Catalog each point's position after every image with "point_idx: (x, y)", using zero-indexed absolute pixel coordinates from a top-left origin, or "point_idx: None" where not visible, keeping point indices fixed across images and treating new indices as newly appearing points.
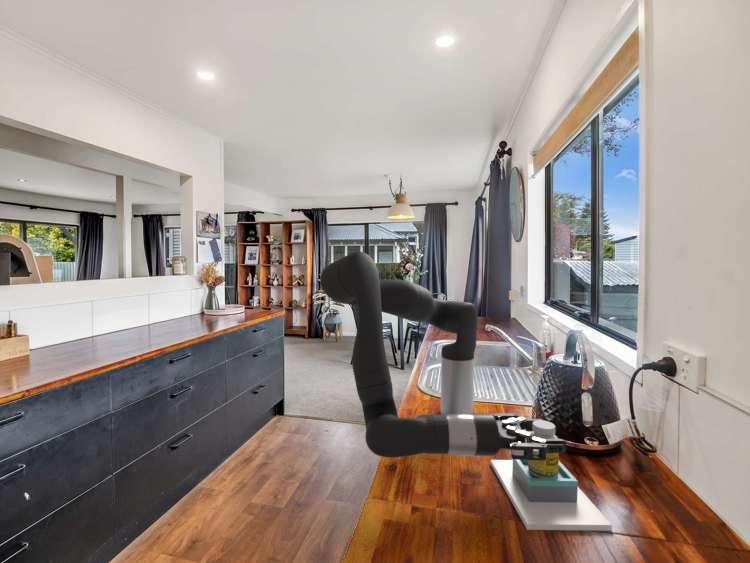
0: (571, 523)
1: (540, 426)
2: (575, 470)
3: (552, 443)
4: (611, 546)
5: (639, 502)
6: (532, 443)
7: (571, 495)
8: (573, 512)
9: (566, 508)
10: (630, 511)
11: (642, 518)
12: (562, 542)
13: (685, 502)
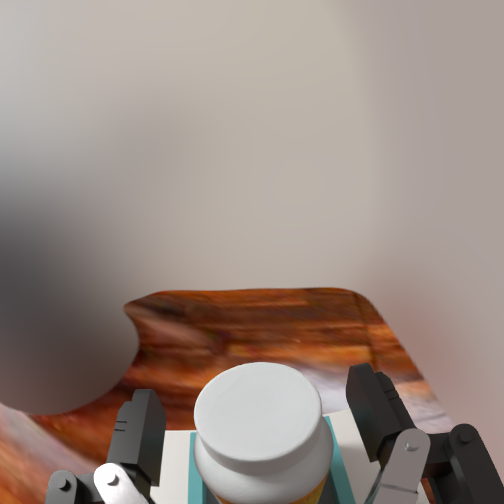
0: None
1: (289, 428)
2: (168, 405)
3: (394, 410)
4: (424, 413)
5: (276, 347)
6: (467, 481)
7: None
8: (367, 457)
9: (356, 468)
10: (308, 367)
11: (324, 357)
12: None
13: (265, 301)
